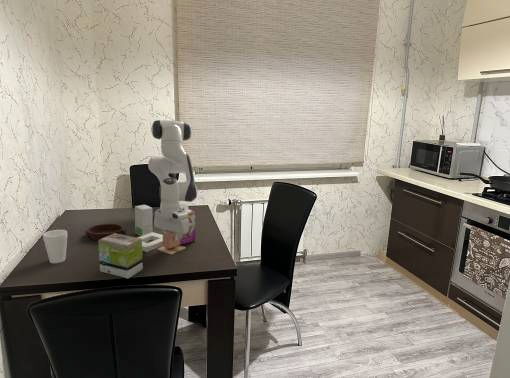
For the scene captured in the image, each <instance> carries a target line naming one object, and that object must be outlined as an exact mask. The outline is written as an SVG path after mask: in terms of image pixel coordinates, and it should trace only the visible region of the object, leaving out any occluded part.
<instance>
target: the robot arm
mask: <svg viewBox="0 0 510 378" xmlns="http://www.w3.org/2000/svg"><path fill="white" fill-rule="evenodd" d="M150 129H151V130H150V131H151V134H152V137H153V138H154V139H157V140H160V141H161V142H160V150H161V154H162V155H158V156H153V157H150V159H149V160H148V164H147V166H148V170H149V171H150V172H151V173H152V174H153V175H155V176H156V177H157V179H158V181H159V183H160V186H159V188H158V189H159V191H158V194H159V199H160V208H157V209H155V211H154V216H153V217H154V219H153V226H154V227H155V228H157V229H158V228H159V229H161V230H162V233H163V234H164V235H166V234H169V233H168V231H169V232H175V236H174V237H173V240H178V235H179V234H185V233H187V232H188V231H189V221H188V218H187V217H188V213H187V212H186V211H188V210H190V209H189V204H188V203H187V202H189V203H192V202H194V201H195V200H196V199H197V197H198V187H197V184H196V181H195V177H194V176H195V175H194V170H193V166H192V162H191V158H190V155H189V153H187V152H186V151H185V149H184V146H183V145H184V144H183V143H184V142H185V141H188V140H190V139H191V136H192V133H193V129H192V125H191V124H190V123H189V122H186V121H179V120H174V119H173V120H161V119H158V120H154V121H153V122H152V125H151V127H150ZM183 141H184V142H183ZM183 173H184V174H185V179H186V181H179V180H178V179H177V178H173V177H171V176H169V174H183Z"/></svg>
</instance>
